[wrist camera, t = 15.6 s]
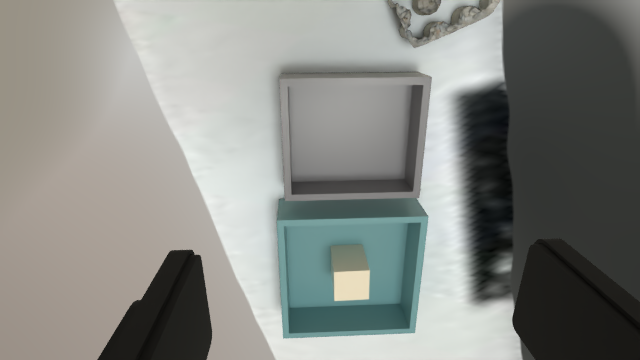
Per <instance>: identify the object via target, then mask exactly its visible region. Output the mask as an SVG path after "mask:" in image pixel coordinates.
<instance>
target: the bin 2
mask: <svg viewBox="0 0 640 360" xmlns="http://www.w3.org/2000/svg"><path fill="white" fill-rule="evenodd" d="M427 224H428V215H427V214H426V212H425V211H424V209H423V208H422V206H421V205H420V203H419V202H418V200H417V199H416V198H391V199H352V200H313V201H285V199H279V206H278V214H277V235H278V252H279V270H280V288H281V306H282V324H283V338H305V337H329V336H354V335H378V334H402V333H415V327H416V318H417V310H418V301H419V293H420V284H421V275H422V267H423V258H424V250H425V241H426V233H427ZM356 244H362V245H363V248H364V252H365V255H366V259H367V262H368V266H369V269H370V280H369V299H364V300H345V301H334V294H333V286H332V278H331V251H330V246H334V245H356Z"/></svg>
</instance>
